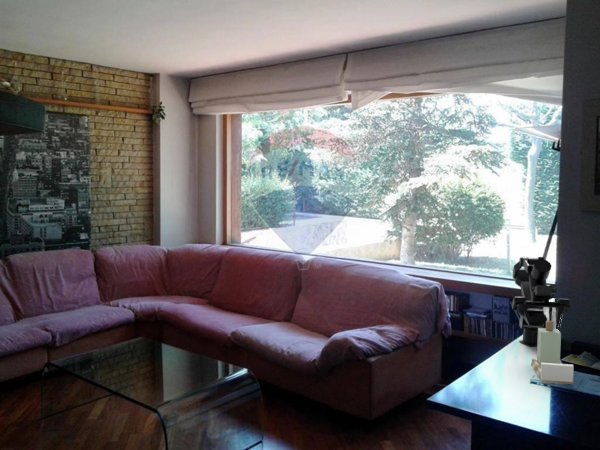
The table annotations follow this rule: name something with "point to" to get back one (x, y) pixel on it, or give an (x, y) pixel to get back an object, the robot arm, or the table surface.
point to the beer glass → (550, 313)
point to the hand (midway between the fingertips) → (543, 325)
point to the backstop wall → (557, 372)
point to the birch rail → (538, 372)
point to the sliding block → (548, 344)
